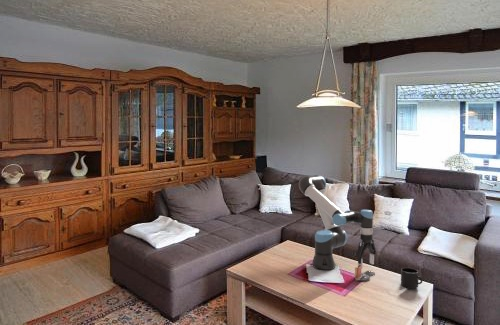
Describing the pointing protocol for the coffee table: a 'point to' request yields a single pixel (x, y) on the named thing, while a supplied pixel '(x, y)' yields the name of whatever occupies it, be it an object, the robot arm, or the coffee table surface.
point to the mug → (410, 278)
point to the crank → (359, 274)
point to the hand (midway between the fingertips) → (366, 266)
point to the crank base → (362, 278)
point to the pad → (369, 273)
